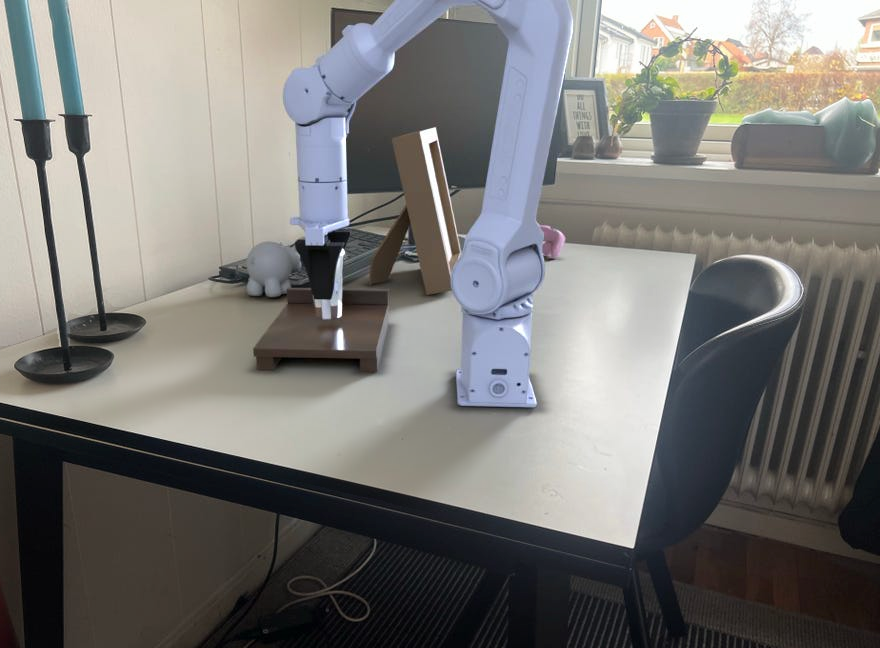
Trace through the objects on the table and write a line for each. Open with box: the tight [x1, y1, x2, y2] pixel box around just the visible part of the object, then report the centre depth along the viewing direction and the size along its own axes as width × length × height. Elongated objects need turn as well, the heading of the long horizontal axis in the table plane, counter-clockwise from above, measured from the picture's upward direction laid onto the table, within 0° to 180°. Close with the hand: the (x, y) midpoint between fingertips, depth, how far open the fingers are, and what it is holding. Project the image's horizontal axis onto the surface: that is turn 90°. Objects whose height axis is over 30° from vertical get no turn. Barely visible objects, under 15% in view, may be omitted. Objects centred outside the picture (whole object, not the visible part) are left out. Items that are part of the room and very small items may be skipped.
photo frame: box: [368, 126, 462, 296], centre depth 120 cm, size 15×22×25 cm
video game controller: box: [538, 224, 566, 260], centre depth 143 cm, size 10×5×7 cm, turn 58°
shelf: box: [252, 287, 390, 373], centre depth 89 cm, size 20×14×5 cm
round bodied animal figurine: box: [245, 241, 302, 298], centre depth 114 cm, size 7×12×8 cm, turn 152°
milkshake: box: [313, 248, 346, 320], centre depth 87 cm, size 5×5×10 cm
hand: (326, 293), depth 88 cm, fingers closed on milkshake, 5 cm apart
